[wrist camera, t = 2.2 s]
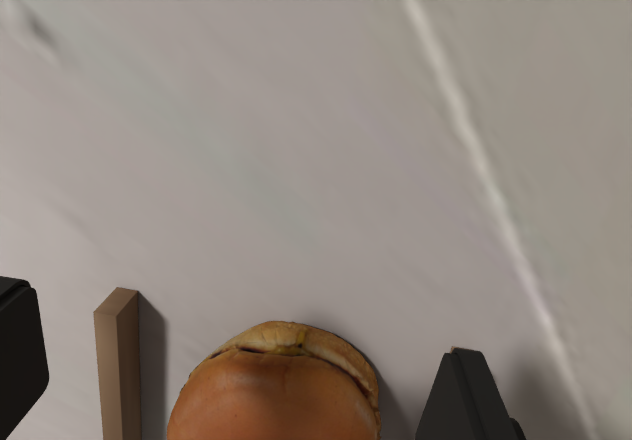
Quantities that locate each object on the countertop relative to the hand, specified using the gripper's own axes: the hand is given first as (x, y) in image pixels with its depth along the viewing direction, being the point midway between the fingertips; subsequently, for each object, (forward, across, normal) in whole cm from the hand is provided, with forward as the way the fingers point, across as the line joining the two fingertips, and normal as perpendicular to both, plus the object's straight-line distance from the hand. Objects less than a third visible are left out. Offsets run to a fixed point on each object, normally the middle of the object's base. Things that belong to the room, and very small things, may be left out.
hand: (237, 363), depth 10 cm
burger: (+9, -1, +10) cm, 14 cm away
